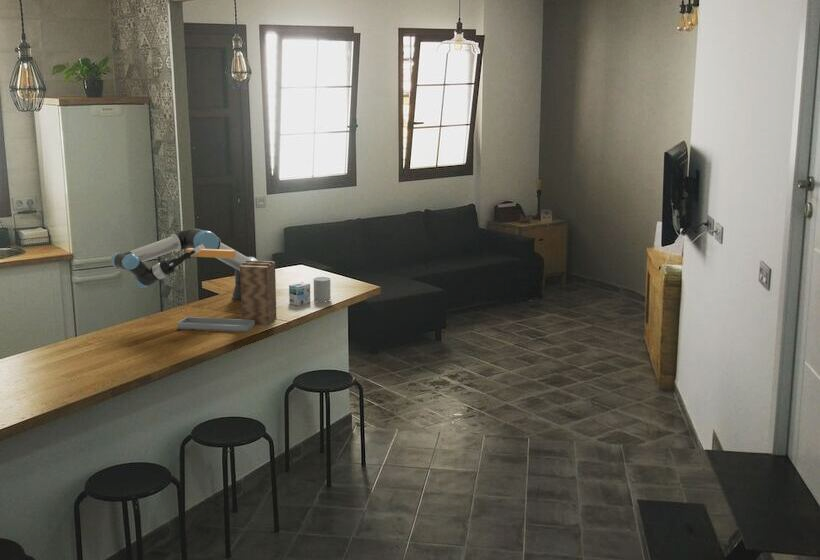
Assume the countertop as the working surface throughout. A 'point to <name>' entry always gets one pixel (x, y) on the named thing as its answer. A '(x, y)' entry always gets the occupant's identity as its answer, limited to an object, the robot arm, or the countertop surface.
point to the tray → (216, 324)
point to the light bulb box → (299, 293)
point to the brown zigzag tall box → (258, 291)
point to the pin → (214, 253)
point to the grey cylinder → (322, 289)
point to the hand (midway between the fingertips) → (202, 247)
